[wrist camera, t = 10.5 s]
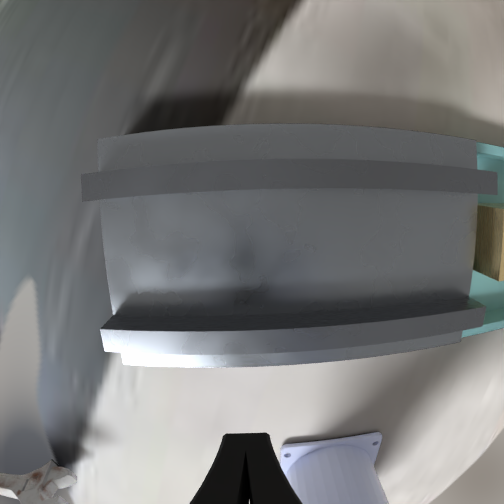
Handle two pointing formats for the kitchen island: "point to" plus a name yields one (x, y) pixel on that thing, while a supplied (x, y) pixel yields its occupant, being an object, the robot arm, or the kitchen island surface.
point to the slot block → (286, 242)
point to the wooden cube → (490, 241)
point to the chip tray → (482, 287)
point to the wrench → (38, 484)
